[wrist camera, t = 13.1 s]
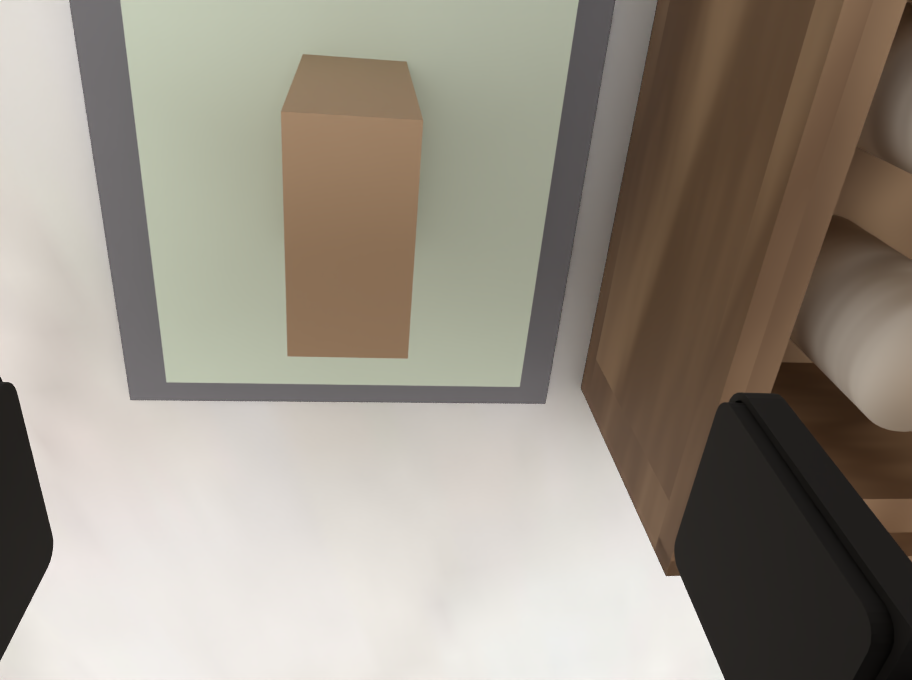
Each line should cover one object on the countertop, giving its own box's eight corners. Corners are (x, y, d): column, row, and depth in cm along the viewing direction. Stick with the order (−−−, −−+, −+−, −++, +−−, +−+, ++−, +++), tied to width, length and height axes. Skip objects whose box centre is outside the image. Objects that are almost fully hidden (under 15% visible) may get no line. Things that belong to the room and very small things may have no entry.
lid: (588, -135, 21) (699, -153, 14) (514, 370, 30) (561, 516, 23) (110, -188, 20) (-31, -238, 13) (173, 364, 28) (109, 521, 21)
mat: (644, -197, 21) (649, -199, 21) (543, 398, 31) (545, 403, 31) (33, -271, 19) (26, -275, 19) (133, 394, 29) (130, 399, 28)
